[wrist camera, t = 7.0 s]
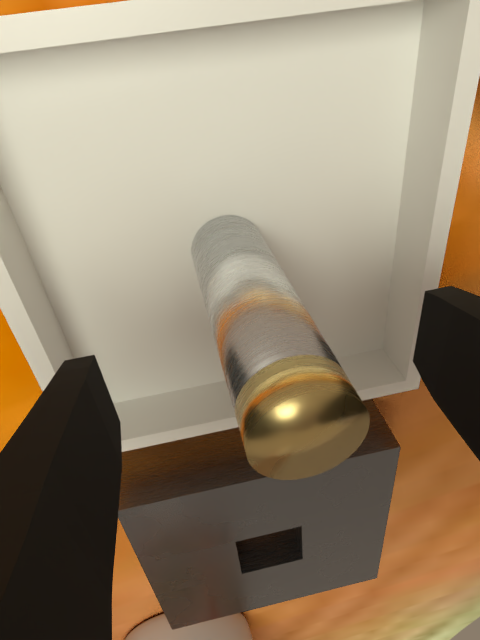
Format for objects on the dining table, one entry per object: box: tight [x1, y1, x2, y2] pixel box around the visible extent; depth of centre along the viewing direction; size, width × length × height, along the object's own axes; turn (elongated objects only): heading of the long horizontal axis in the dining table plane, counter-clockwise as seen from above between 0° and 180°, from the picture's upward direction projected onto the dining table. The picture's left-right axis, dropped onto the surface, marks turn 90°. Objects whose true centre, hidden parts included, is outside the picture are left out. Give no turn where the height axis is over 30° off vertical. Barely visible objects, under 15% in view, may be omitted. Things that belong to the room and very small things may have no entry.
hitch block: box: [118, 399, 400, 630], centre depth 23 cm, size 12×12×3 cm
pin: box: [191, 215, 370, 480], centre depth 11 cm, size 2×2×8 cm
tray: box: [0, 0, 480, 452], centre depth 14 cm, size 13×13×3 cm
